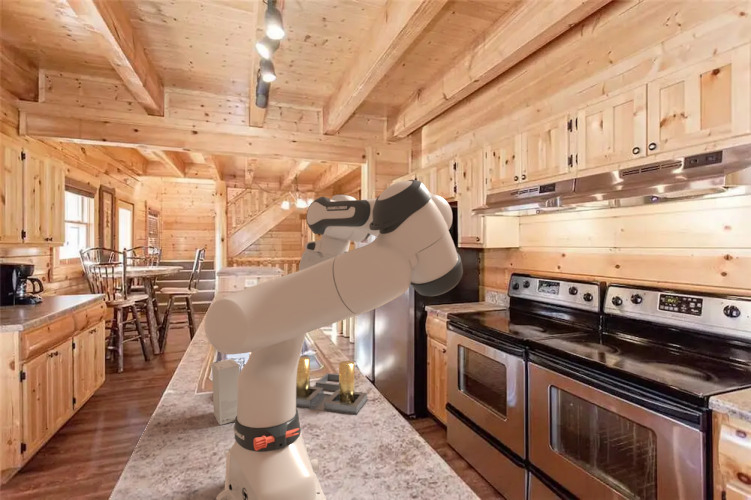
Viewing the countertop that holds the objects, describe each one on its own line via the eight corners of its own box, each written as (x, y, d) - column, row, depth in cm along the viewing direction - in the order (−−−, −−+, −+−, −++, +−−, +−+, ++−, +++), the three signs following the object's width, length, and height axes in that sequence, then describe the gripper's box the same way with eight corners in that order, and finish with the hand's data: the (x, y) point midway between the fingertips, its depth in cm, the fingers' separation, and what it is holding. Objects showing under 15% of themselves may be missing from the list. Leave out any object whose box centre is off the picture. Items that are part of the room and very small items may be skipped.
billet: (357, 405, 108) (357, 363, 108) (343, 409, 106) (343, 366, 105) (349, 400, 112) (349, 359, 111) (336, 403, 109) (336, 362, 109)
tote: (352, 384, 126) (352, 375, 126) (342, 395, 118) (342, 385, 118) (327, 381, 129) (327, 373, 129) (315, 392, 120) (315, 382, 120)
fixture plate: (368, 402, 113) (368, 392, 112) (356, 418, 102) (356, 407, 102) (296, 393, 119) (296, 383, 119) (277, 407, 109) (277, 397, 109)
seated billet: (312, 399, 112) (312, 359, 112) (298, 403, 110) (298, 362, 109) (306, 394, 116) (306, 355, 115) (292, 397, 113) (292, 358, 113)
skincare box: (241, 420, 101) (241, 365, 101) (217, 426, 98) (217, 369, 97) (234, 409, 108) (234, 357, 108) (211, 414, 105) (211, 360, 104)
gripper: (368, 256, 110) (358, 303, 110) (313, 245, 120) (304, 287, 120) (357, 254, 105) (347, 303, 104) (300, 242, 114) (291, 287, 114)
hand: (324, 294), depth 112 cm, fingers closed
